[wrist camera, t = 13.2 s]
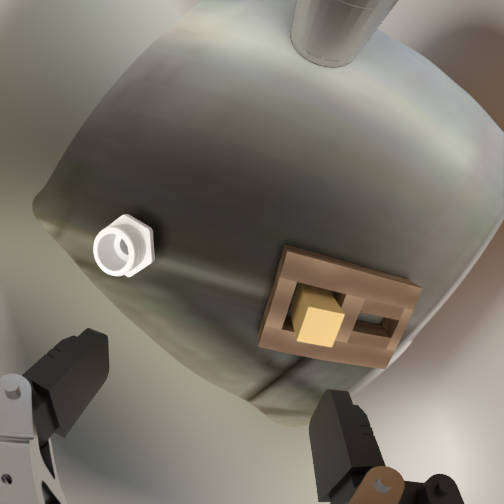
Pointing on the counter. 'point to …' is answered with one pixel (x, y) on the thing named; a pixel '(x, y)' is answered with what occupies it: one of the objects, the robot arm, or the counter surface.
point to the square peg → (315, 315)
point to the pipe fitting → (124, 247)
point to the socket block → (351, 302)
